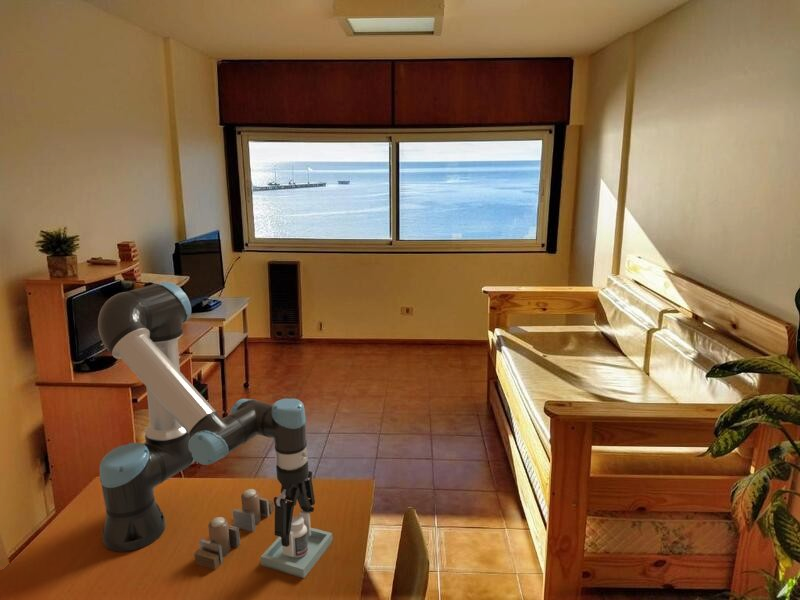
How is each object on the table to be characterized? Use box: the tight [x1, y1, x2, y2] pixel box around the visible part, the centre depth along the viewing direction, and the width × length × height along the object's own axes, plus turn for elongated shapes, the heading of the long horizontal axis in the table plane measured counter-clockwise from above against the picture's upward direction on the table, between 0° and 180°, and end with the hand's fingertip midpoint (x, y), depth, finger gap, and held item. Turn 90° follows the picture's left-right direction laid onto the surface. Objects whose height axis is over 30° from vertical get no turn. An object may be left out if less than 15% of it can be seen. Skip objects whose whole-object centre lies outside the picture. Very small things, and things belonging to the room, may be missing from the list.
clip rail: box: [193, 496, 275, 571], centre depth 150 cm, size 6×25×5 cm, turn 158°
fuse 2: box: [240, 488, 262, 526], centre depth 156 cm, size 5×5×9 cm
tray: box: [260, 527, 334, 579], centre depth 144 cm, size 12×14×2 cm
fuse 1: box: [208, 516, 231, 558], centre depth 144 cm, size 5×5×9 cm
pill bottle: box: [290, 515, 308, 558], centre depth 143 cm, size 5×5×9 cm
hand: (297, 544), depth 144 cm, fingers open, 7 cm apart
